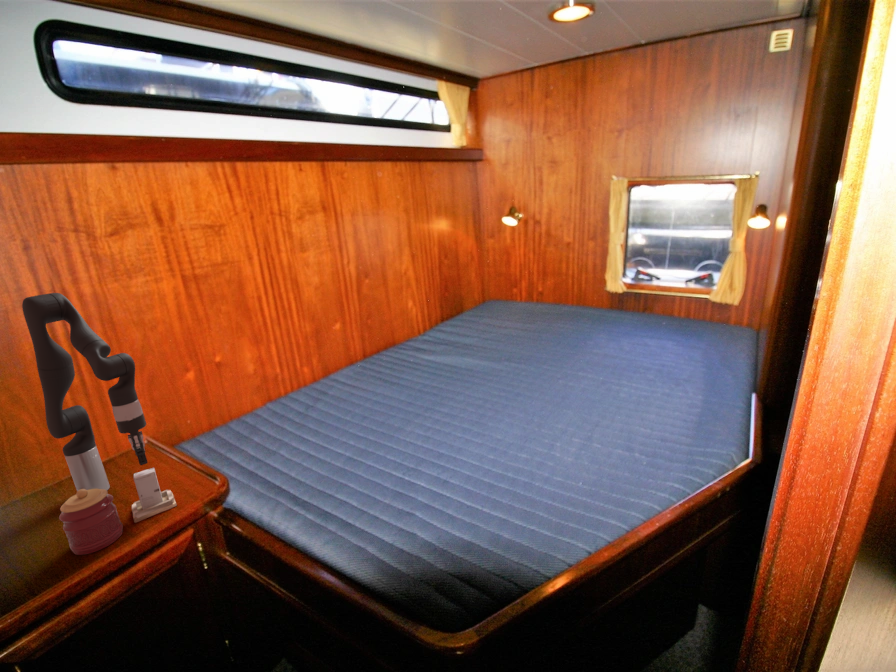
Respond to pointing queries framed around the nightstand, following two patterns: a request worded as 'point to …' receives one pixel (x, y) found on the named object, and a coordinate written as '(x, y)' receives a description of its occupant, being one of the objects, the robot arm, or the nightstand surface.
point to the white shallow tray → (153, 507)
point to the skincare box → (148, 488)
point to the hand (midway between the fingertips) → (143, 463)
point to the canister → (90, 521)
